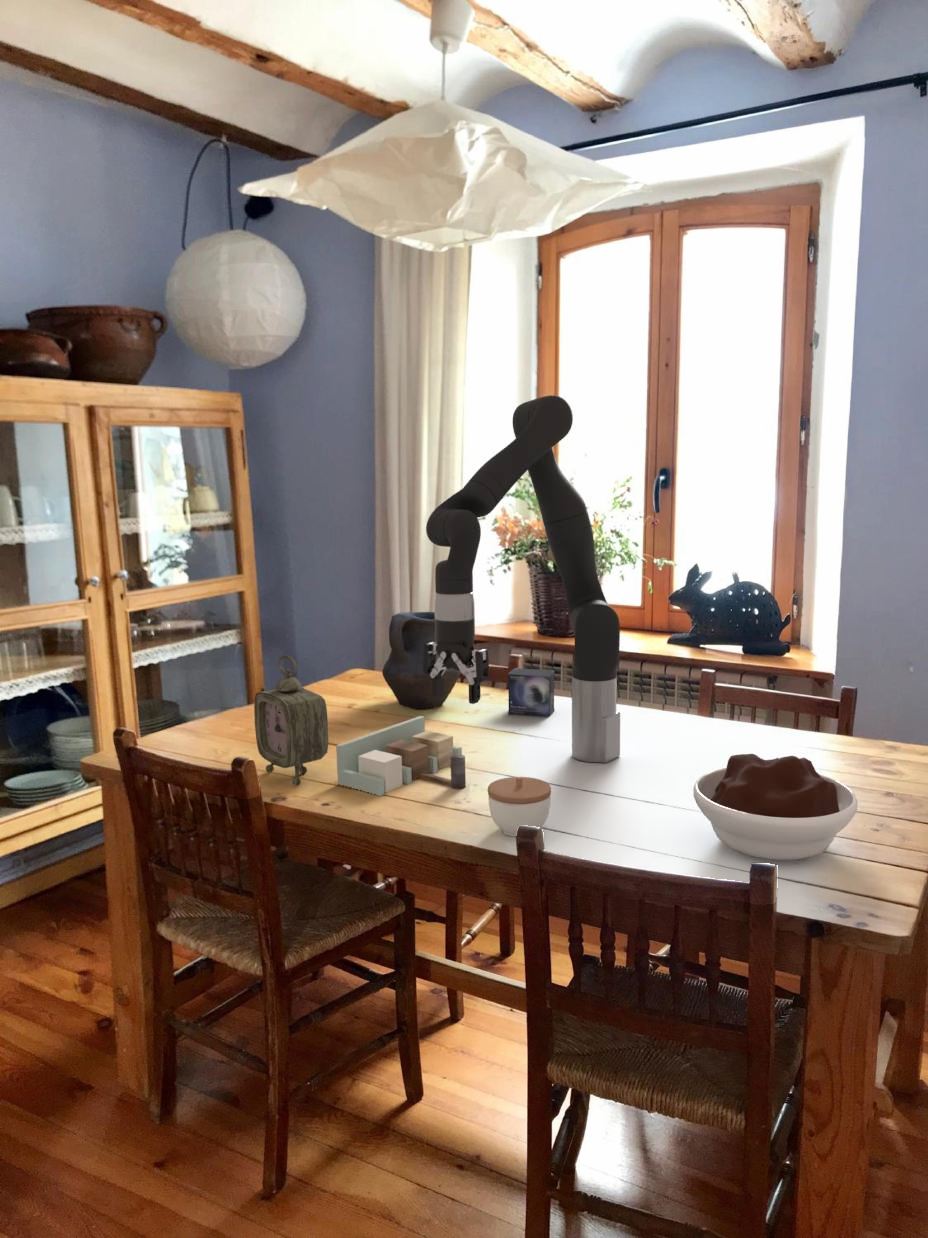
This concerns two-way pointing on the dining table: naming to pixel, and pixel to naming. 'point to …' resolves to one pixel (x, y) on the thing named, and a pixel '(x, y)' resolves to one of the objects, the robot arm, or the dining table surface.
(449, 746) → the oak block
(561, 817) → the dining table surface
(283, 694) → the tabletop clock
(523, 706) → the small box
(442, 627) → the robot arm
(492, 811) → the lidded jar
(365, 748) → the lane shelf
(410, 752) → the tow block
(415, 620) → the pitcher
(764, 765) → the bowl of brown mass
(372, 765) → the cream block
